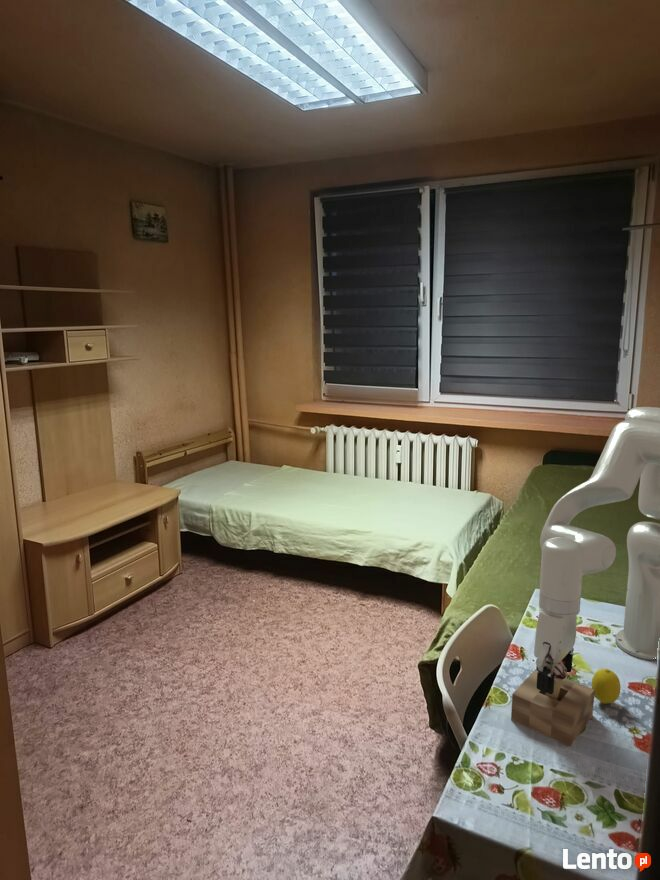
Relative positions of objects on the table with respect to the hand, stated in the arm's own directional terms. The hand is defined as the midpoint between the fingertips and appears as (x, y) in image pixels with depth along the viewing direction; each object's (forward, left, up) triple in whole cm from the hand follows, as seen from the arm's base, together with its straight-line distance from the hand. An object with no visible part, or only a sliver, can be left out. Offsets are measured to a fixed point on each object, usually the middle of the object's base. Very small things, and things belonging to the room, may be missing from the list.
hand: (554, 680), depth 121 cm
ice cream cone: (0, 0, -9) cm, 9 cm away
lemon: (-12, +6, -9) cm, 16 cm away
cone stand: (0, 0, -9) cm, 9 cm away
